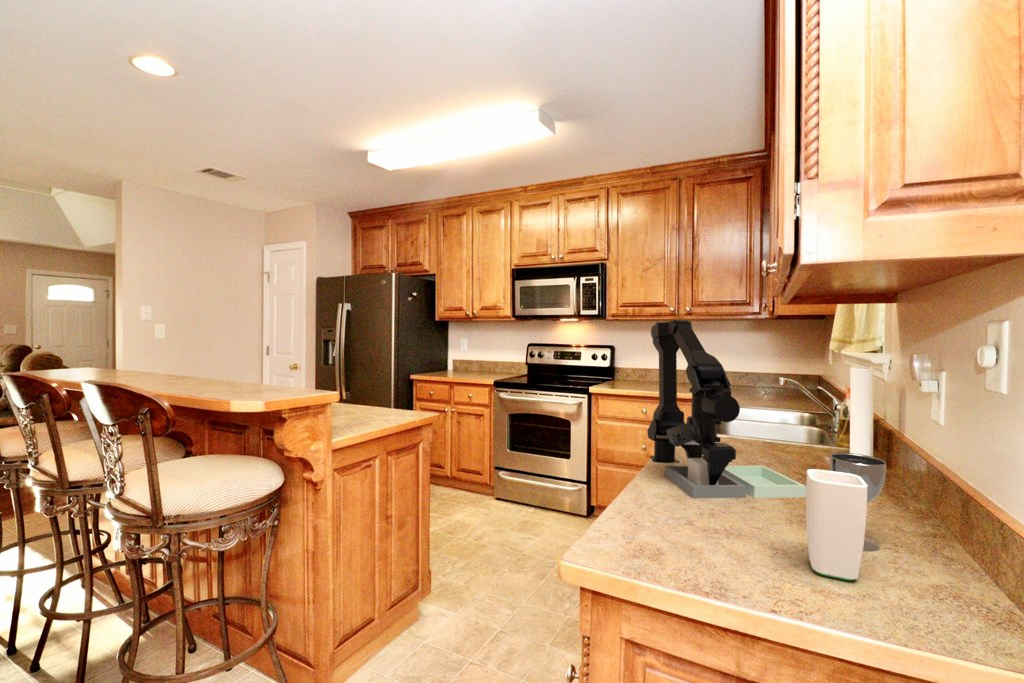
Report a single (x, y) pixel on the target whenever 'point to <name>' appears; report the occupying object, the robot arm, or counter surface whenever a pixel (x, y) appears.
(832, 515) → the cup
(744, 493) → the bin
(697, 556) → the counter surface
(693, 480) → the stone block
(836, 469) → the wine glass
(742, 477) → the bin
